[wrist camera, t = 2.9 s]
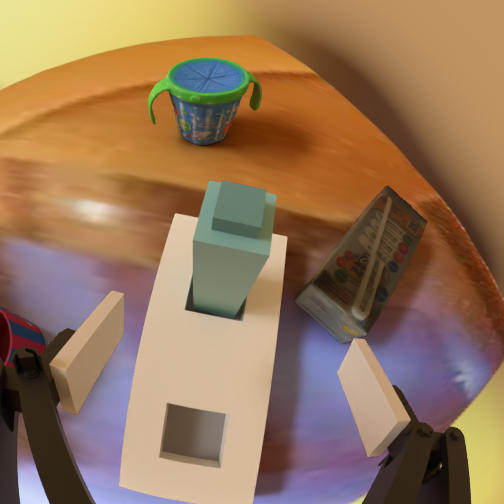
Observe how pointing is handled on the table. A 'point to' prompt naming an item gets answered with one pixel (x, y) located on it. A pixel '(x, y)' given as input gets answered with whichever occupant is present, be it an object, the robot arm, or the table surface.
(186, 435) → the socket panel
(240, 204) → the plug
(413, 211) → the beverage carton
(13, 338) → the cup
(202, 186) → the table surface
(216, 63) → the sippy cup
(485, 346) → the table surface
